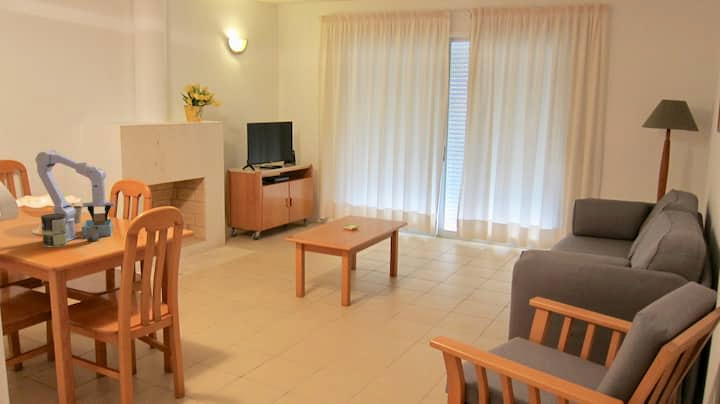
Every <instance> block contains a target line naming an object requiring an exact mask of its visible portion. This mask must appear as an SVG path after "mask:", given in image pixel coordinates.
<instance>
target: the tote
mask: <svg viewBox="0 0 720 404" xmlns="http://www.w3.org/2000/svg"><path fill="white" fill-rule="evenodd" d="M89 226H94V222H93V220H92V219H85V220H84V222H83V224H82V225H81V237H82V238H83V239H84V238H87V227H89ZM95 226H98V236H99V237H111V236H112V234H113V230H114V221H113V218H107V221H106V224H105V225H95Z"/></svg>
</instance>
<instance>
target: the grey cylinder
mask: <svg viewBox="0 0 720 404" xmlns="http://www.w3.org/2000/svg"><path fill="white" fill-rule="evenodd" d="M86 238H87V242H88V243H97V242H99V241H100V238H99V236H98V226H89V227H87V237H86ZM96 241H97V242H96Z"/></svg>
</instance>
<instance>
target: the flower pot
mask: <svg viewBox="0 0 720 404" xmlns="http://www.w3.org/2000/svg"><path fill="white" fill-rule="evenodd" d="M73 206H74V208H75V209H76V212H77V213H76V216H75V217H74V223H75V224H79V223H81V219H82V218H81V216H82V210H83V208H84V207H83V205H82V206H80V205H73Z"/></svg>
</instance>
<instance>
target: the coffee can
mask: <svg viewBox="0 0 720 404" xmlns="http://www.w3.org/2000/svg"><path fill="white" fill-rule="evenodd" d="M40 219H41V220H40V221H41V229H42V230H41V232H42V244H43V245H42V246H43V247H45V248H57V247H58V248H60V247H63V246H66V245H67V244H68V241H67V237H66V222H65V215H64V214H55V213H50V214H42V215H40Z"/></svg>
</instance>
